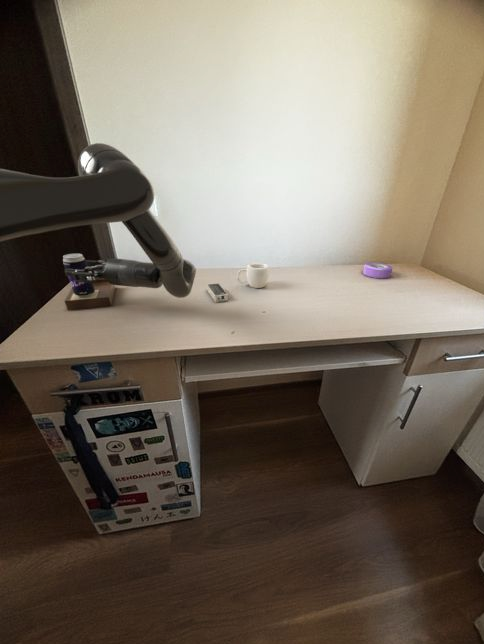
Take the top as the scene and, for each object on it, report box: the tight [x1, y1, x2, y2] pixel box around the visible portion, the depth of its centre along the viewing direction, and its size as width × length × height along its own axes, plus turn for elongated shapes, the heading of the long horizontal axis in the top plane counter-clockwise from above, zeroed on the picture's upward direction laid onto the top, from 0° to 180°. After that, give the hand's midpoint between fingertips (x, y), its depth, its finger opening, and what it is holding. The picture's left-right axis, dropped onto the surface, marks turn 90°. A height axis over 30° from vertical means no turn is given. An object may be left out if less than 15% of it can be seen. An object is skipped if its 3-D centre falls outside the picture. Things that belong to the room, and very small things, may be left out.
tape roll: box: [362, 261, 393, 279], centre depth 124 cm, size 12×12×4 cm
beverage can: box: [62, 252, 95, 297], centre depth 85 cm, size 6×6×12 cm
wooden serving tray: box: [64, 279, 116, 311], centre depth 92 cm, size 12×16×4 cm
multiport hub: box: [206, 283, 229, 303], centre depth 98 cm, size 4×11×2 cm, turn 24°
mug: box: [236, 262, 270, 289], centre depth 106 cm, size 12×8×8 cm
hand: (77, 268), depth 83 cm, fingers open, 8 cm apart
